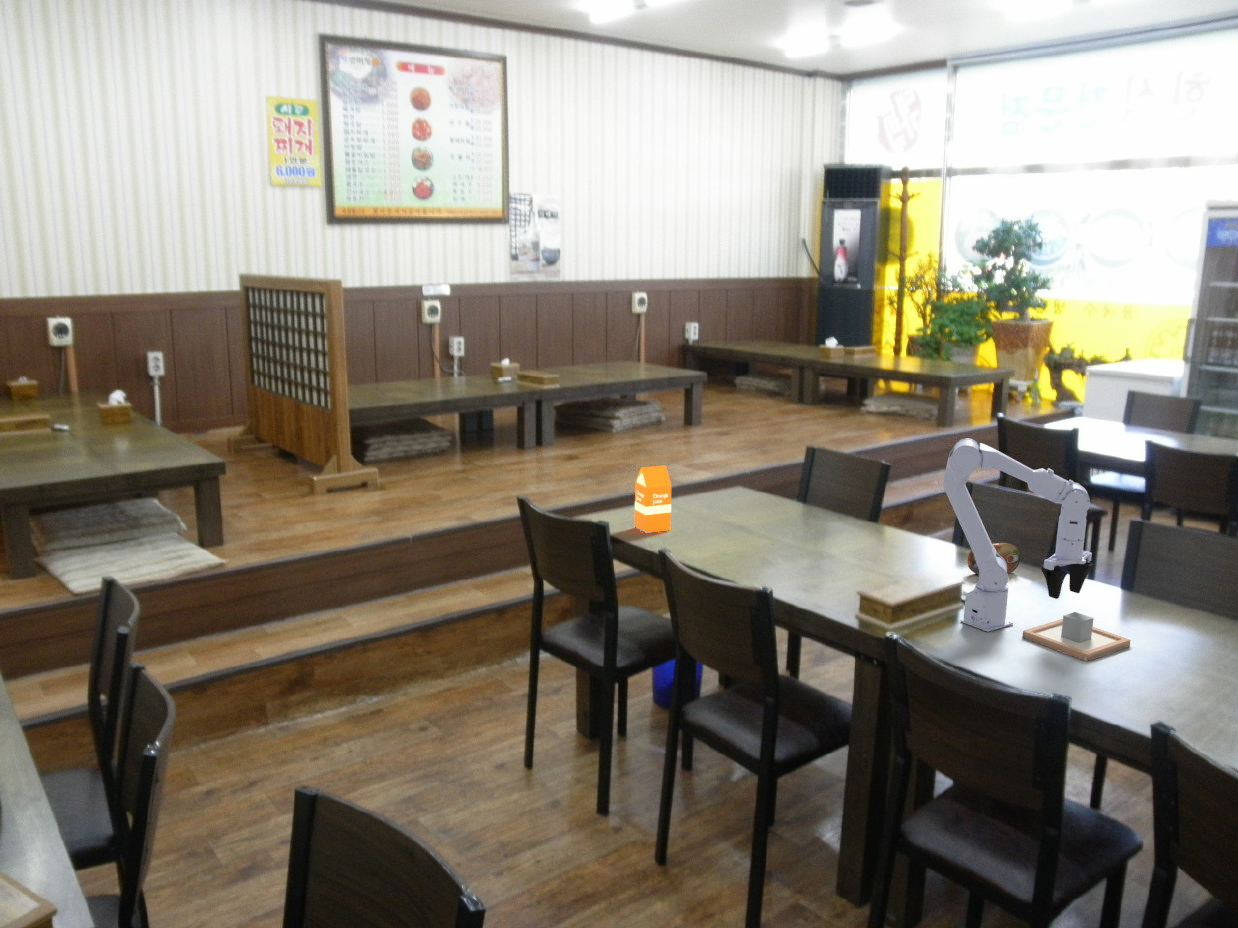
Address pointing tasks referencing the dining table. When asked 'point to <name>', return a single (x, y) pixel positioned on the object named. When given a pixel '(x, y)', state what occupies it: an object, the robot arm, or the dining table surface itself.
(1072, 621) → the block
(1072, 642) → the picture frame
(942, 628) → the dining table surface
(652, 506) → the orange juice
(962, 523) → the robot arm
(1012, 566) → the tin
